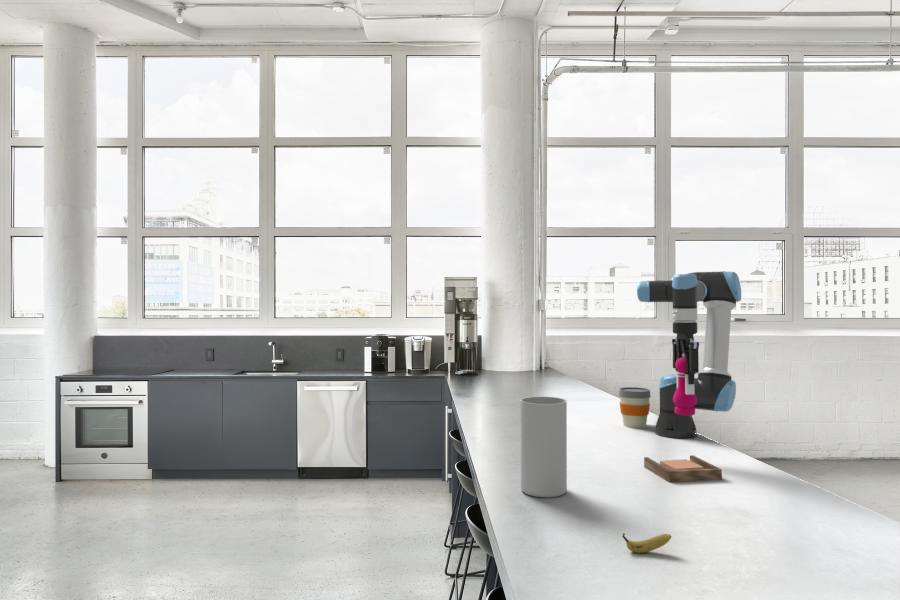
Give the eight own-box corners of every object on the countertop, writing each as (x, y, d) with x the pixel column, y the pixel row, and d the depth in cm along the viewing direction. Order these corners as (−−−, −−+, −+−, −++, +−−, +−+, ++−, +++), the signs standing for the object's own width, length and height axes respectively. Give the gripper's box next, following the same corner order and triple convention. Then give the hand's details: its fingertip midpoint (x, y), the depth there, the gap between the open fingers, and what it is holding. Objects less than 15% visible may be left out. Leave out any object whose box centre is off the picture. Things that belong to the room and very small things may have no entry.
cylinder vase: (531, 500, 160) (531, 405, 160) (514, 486, 172) (513, 397, 172) (574, 496, 163) (574, 402, 163) (554, 482, 175) (554, 395, 175)
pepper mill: (670, 414, 198) (671, 352, 197) (675, 410, 204) (675, 350, 203) (694, 416, 194) (694, 354, 194) (698, 412, 200) (698, 351, 200)
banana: (669, 550, 128) (669, 531, 128) (673, 555, 126) (672, 536, 126) (620, 550, 129) (620, 531, 129) (623, 554, 126) (623, 535, 126)
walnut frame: (693, 464, 193) (693, 455, 193) (721, 479, 177) (721, 469, 177) (644, 466, 191) (644, 457, 191) (668, 482, 175) (668, 471, 175)
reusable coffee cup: (612, 424, 255) (612, 388, 255) (635, 421, 260) (635, 386, 260) (633, 430, 244) (633, 392, 244) (657, 427, 249) (657, 390, 249)
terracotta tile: (686, 468, 190) (686, 459, 190) (703, 477, 182) (703, 467, 182) (659, 470, 189) (659, 460, 189) (676, 479, 180) (676, 468, 180)
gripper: (661, 320, 207) (661, 388, 208) (687, 323, 189) (688, 398, 189) (682, 319, 208) (682, 387, 208) (710, 322, 190) (711, 397, 190)
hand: (685, 392), depth 199 cm, fingers closed on pepper mill, 5 cm apart
